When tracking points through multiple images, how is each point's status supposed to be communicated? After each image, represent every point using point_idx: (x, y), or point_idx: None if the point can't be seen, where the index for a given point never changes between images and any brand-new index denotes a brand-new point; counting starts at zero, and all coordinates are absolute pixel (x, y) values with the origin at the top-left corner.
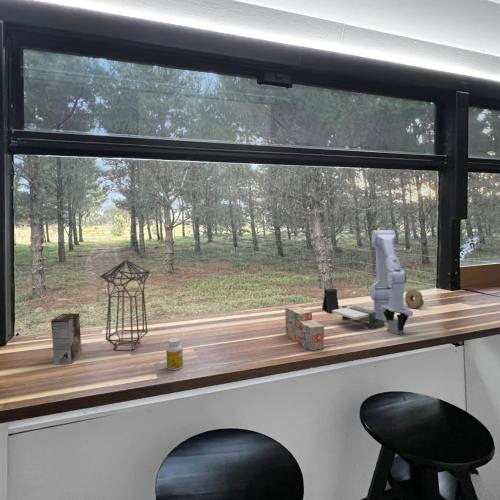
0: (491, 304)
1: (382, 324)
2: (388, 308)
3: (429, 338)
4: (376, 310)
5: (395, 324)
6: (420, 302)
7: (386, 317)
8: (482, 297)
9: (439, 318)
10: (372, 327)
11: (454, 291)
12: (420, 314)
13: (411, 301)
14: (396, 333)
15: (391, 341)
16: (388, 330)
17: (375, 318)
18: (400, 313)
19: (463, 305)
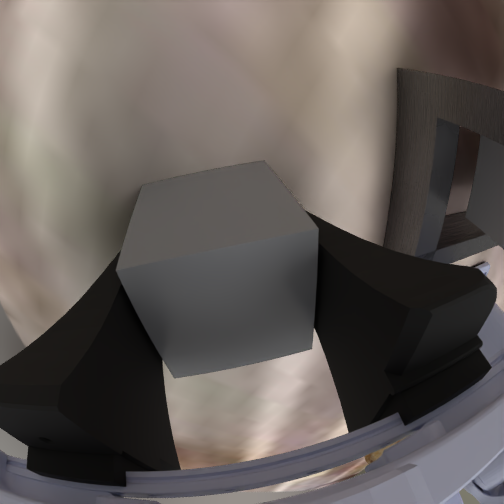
0: (279, 490)
1: (397, 233)
2: (462, 471)
3: (22, 336)
4: (497, 318)
5: (151, 240)
6: (371, 456)
7: (383, 256)
8: (313, 485)
9: (275, 454)
10: (408, 81)
11: (363, 468)
12: (341, 432)
13: (398, 441)
14: (145, 186)
15: (3, 4)
16: (260, 166)
17: (475, 224)
18: (109, 478)
19: (308, 476)
